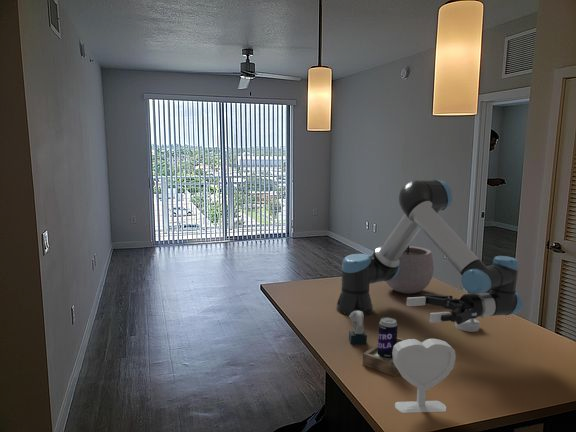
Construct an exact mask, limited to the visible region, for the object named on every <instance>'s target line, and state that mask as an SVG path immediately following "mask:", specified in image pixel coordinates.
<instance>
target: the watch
mask: <svg viewBox="0 0 576 432" xmlns="http://www.w3.org/2000/svg"><path fill="white" fill-rule="evenodd" d="M348 317H349V318H350V320H351V323H352V327H353V330H349V331H348V341H349V344H350V345H367V344H368V343H367V339H368V335H367V333H366V332H365V330H364V329H365V328H364V318H365V315H364V313H363V312H362V311H353V312H352V313H351V314H350V315H348Z"/></svg>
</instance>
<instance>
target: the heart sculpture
mask: <svg viewBox="0 0 576 432" xmlns="http://www.w3.org/2000/svg"><path fill="white" fill-rule="evenodd" d="M456 355H457V354H456V350H455V349H454V348H453V347H452V346H451V345H450V344H449V343H448V342H447V341H444V340H442V339H438V338H428V339H425V340H423V341H420V340H418V339H416V338H408V339H405V340H403V341H401V342H398V343H397V344H395V345H394V347H393V352H392V356H393V363H394V364H395V366H396V368H397V369H398V371H399V374H400V376H401V377H402V378H403V379H404V380H406V381H407V382H408V383H409V385H410V384H411V385H412V386H413V387H415V388H416V400H415V401H396V402H395V403H394V407H395V409H396V410H398V412H400V413H402V414H403V413H404V414H409V413H434V412H435V413H437V412H438V413H441V412H443V413H444V412H447V406H446V405H445V404H444V403H443V402H441V401H439V400H426V398H427V397H426V395H427V391H428V390H430V389H431V388H433V387H434V386H436V385H438V384H440V383H441V382H442V381H443V380H445V379H446V378H447V377H448V376H449V375H450V373H451V372H452V370H453V369H454V367H455V363H456V357H457V356H456Z"/></svg>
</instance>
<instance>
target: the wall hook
mask: <svg viewBox="0 0 576 432" xmlns="http://www.w3.org/2000/svg"><path fill="white" fill-rule="evenodd" d="M477 318H478V317H476V318H472V319H469V320H467V321H465V322H463V323H461V324H457V323H456V322H455V324H454V326H455V327H456V329H458V330H460V331H464V332H471V333H474V332H478V331H479V330H480V325H481V323H480V321H479V320H478V319H477Z"/></svg>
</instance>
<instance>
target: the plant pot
mask: <svg viewBox="0 0 576 432" xmlns="http://www.w3.org/2000/svg"><path fill="white" fill-rule="evenodd" d="M399 260H400V266H399V268H400V269H399V272H398V274H397V276H396V277H395V278H393V279H391V280H388V281H385V283H386V284H387V285H388V286H389V288H391V289H393V291H395V292H398V293H401V294H404V295H405V294H408V295H410V294H411V295H412V294H417V293H420V292H422V291H423V290H425V289H426V288H427V287H428V286H429V285H430V283H431V281H432V279H433V275H434V261H433V254H432V251H431V250H430V249H428V248H425V247H422V246H421V247H420V246H413V245H409V246H408V247H407V248H406V250H405V251H404V252H403V254H402V255H401V257H400V258H399Z"/></svg>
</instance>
